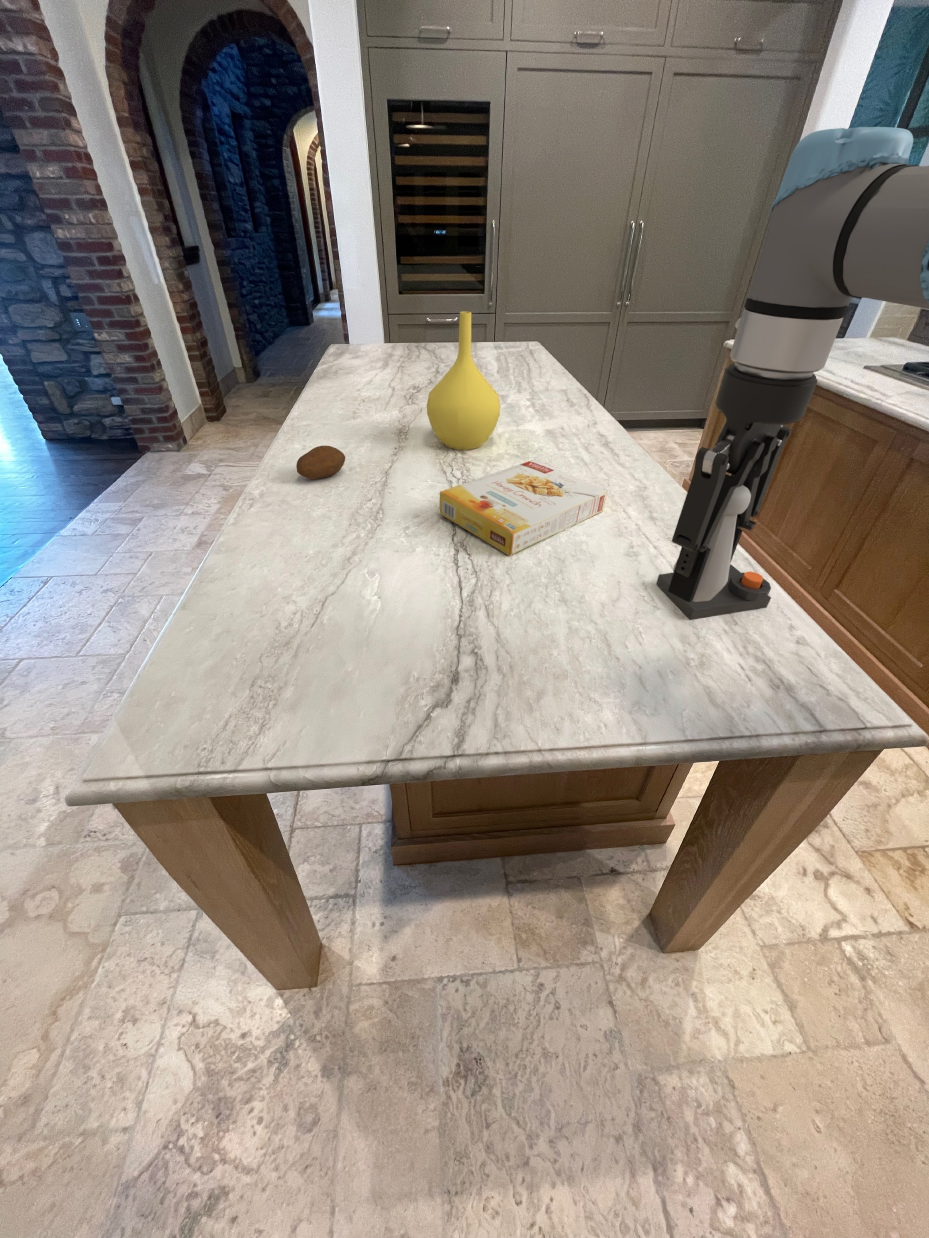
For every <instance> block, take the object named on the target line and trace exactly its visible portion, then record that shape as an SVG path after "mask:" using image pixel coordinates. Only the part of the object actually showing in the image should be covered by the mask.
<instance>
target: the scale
mask: <svg viewBox="0 0 929 1238" xmlns="http://www.w3.org/2000/svg"><path fill="white" fill-rule="evenodd" d="M744 573H745V572H741V571H740V570H739V569H738V568H736V567H735V566H734V565H733V564H731V563H730V569H729V576H728V581H727V583H726V585H725V586H724V587H723V588H722V589H721V590H720V591H719V592H718V593H717V594H716V595H715V596H714V597H713V598H712V599H711V600H710V601H700V602H694V601H691V602H687V601H685V600H683V599H681V598H679V597H677V596H675V595H674V594H672V593H670V592H668V589H669V586H670V583H671V580H672V576H673V572H667V573H660V574H658V576H657V580H656V583H655V584H656V586H657V587H658V588H659V589H660V590H661V591H662V592H663V593H664V594H665V595H666V596H667V597H668V598H669V600H670V601H672V603H674V604H675V606H677V607H678V609H679V610H680V611H681V612H682V613H683V614H684V615H685V616H686V617H687V618H688V619H689V620H690V621H691V620H692V621H693V620H698V619H704V618H710V617H716V616H721V615H727V614H734V613H739V612H747V611H753V610H758V609H765V608H768V606H769V604H770V601H771V599H772V597H771V596H770V592H771V589H772V587H771V583H770V582H769V581H768V580H767V579H765V578H764V577H763V581H762V583H761V586H760V588H758V589H753V588H748V587H746V586H744V585H743V584H741V580H742V578H743V575H744Z"/></svg>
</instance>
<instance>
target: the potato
mask: <svg viewBox="0 0 929 1238" xmlns="http://www.w3.org/2000/svg"><path fill="white" fill-rule="evenodd" d="M345 462H346V455H345V454H344V452H343V451H341V450H340V449H338V448H336V447H334V446H331V445H319V446H315V447H313V448H311V449H309V451H308V452H305V453H304V454H302V455H301V456H299V458H298V459H297V461H296V465H295V466H296V467H295V468H296V472H297V474H298V475H299V476H300V477H303V478H305V479H308V480H319V479H325V478H330V477H332V476H335V475H337V474H338V473H339V472H340V471H341V470H342V468H343V466H344V464H345Z"/></svg>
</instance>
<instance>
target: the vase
mask: <svg viewBox="0 0 929 1238" xmlns="http://www.w3.org/2000/svg"><path fill="white" fill-rule="evenodd" d="M458 324H459V325H458V353H457V356H456V359H455V361H454V363H453V365H452V366H451V367H450V368H449V370H448V371H447V372H446V373H445V374H444V375H443V377H442V379H440V380H439V381H438V382H437V384H436V385H435V386H434V387H432V388H431V390H430V391H429V392H428V397H427V402H426V415H427V418H428V421H429V423H430V426H431V427H430V428H431V429H432V431H433V432H434V434H435V436H436V438H437V439H438V441H440V442H441V443H442V444H443V445H444V446H445V447H447V448H449V449H453V450H459V451H467V450H475V449H477V448H479V447H481V446H483V445H484V444H485V443H486V442H487V441H488V440H489V438H490V437H491V436H492V434H493V432H494V431H495V429H496V426H497V423H498V421H499V419H500V416H501V415H500V414H501V402H500V394H499V393H498V392H497V391H496V390H495V388H493V386H492V385H491V384H490V382H488V380H487V379H486V378H485V376H484V374H482V372H481V370H480V369H479V368H478V367H477V366H476V364H475V361H474V359H473V355H472V312H471V311H465V310H463V311H460V312H459V323H458Z"/></svg>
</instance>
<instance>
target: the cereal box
mask: <svg viewBox="0 0 929 1238" xmlns="http://www.w3.org/2000/svg"><path fill="white" fill-rule="evenodd" d="M607 496H608V489H607V488H606V487H603V486H601V485H598V484H595V483H593V482H591V481H588V480H586V479H583V478H581V477H578V476H576V475H573V474H571V473H569V472H566V471H565V470H562V469H560V468H556V467H554V466H552V465H550V464H548V463H545V462H543V461H540V460H538V459H535V458H534V459H532V460H529V461H526V462H523V463H520V464H517V465H514V466H511V467H508V468H504V469H502V470H499V471H496V472H494V473H490V474H488V475H485V476H482V477H479V478H476V479H473V480H470V481H467V482H464V483H460V484H458V485H455V486H452V487H449V488H447V489H443V490H441V491H439V503H438V505H439V506H438V510H439V514H440V516H442V517H445V519H448V520H449V521H450V522H453V523H454V524H456V525H458V526H459V527H461V528H463V529H464V530H466V531H468V532H469V533H470V534H473V535H474V536H475V537H477V538H479V539H481V540H483V542H486V543H487V544H489V545H490V546H492V547H494V548H495V549H497V550H498V551H500V552H502V553H504V554H505V555H507V556H510V557H511V556H512V555H514V554H516V553H518V552H520V551H522V550H525V549H527V548H530V547H531V546H533V545H536V544H537V543H539V542H542V541H544V540H545V539H548V538H550V537H552V536H554V535H557V534H558V533H560V532H562V531H565V530H567V529H569V528H571V527H573V526H576V525H577V524H579V523H581V522H583V521H586V520H588V519H590V518H591V517H593V516H596V515H598V514H600V513H602V512H604V508H605V504H606V499H607Z"/></svg>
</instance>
